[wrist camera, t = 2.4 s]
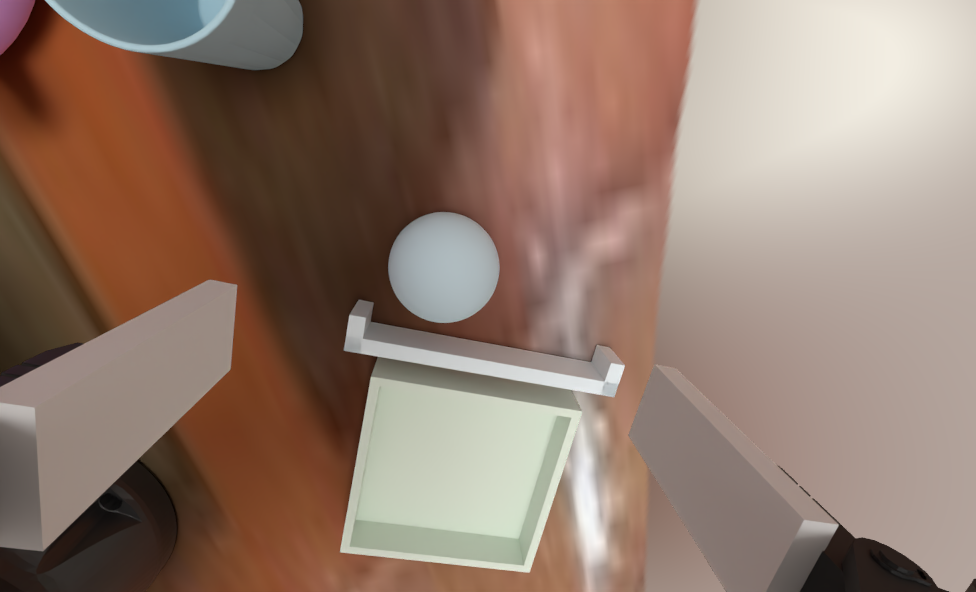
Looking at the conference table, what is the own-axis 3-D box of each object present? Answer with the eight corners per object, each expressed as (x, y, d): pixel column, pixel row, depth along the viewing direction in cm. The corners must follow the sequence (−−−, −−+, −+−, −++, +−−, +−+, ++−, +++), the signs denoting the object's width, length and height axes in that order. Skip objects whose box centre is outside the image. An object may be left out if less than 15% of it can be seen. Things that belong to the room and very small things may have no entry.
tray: (348, 519, 35) (339, 552, 32) (378, 355, 31) (371, 376, 28) (522, 539, 37) (529, 572, 34) (570, 389, 33) (582, 411, 30)
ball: (387, 292, 30) (371, 328, 24) (404, 195, 28) (392, 207, 22) (481, 311, 31) (490, 349, 25) (504, 218, 29) (519, 235, 23)
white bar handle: (353, 332, 31) (343, 350, 28) (358, 299, 30) (349, 314, 27) (599, 376, 33) (614, 397, 30) (609, 347, 33) (625, 365, 30)
